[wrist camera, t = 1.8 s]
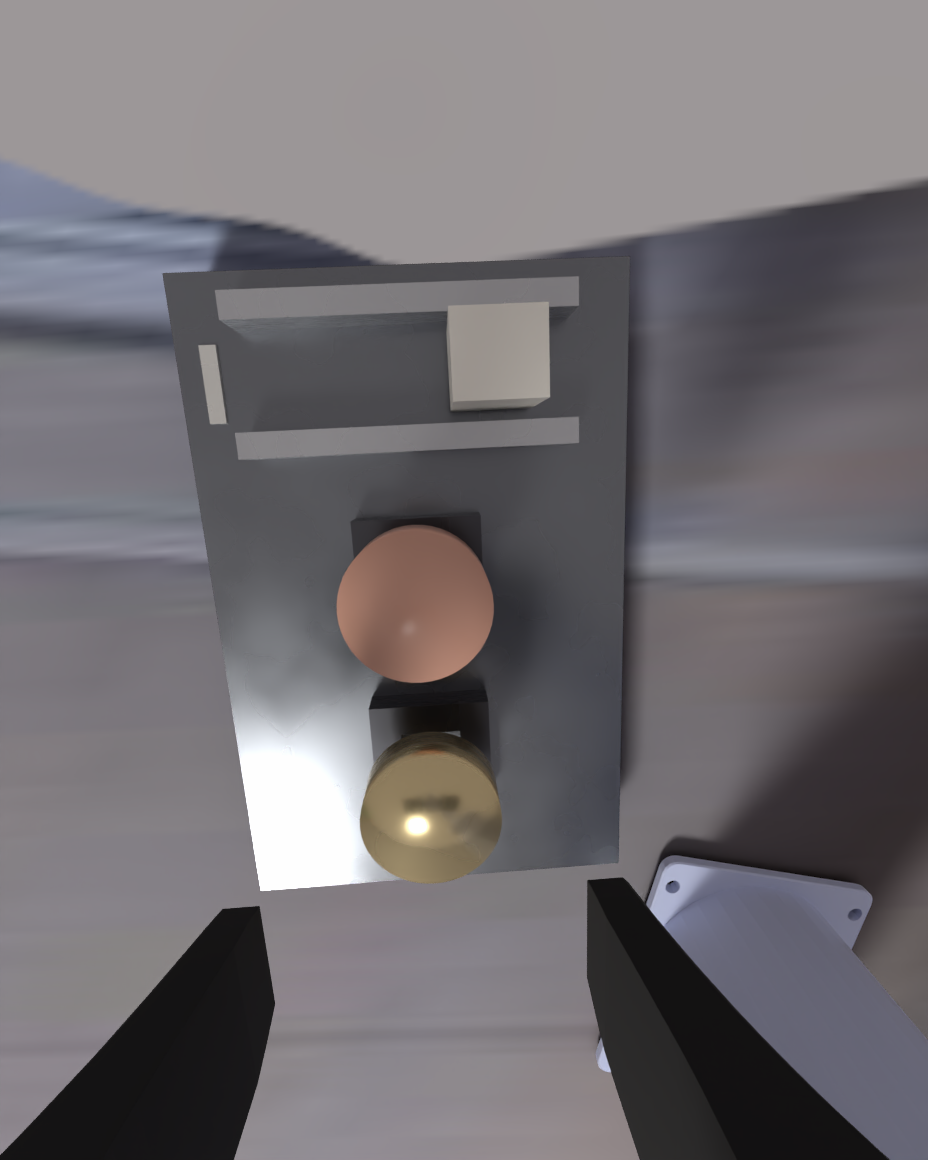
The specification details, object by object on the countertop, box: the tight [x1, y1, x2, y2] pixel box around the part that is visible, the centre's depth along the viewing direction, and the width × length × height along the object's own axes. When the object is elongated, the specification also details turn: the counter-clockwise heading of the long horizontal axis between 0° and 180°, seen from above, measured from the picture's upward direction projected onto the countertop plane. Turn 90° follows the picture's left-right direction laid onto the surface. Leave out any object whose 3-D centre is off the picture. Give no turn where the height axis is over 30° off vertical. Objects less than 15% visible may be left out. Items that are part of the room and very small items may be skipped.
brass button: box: [360, 732, 502, 883], centre depth 13 cm, size 3×3×2 cm
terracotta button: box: [337, 525, 494, 683], centre depth 12 cm, size 3×3×2 cm
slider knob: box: [446, 302, 550, 412], centre depth 12 cm, size 2×2×2 cm
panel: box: [163, 256, 630, 891], centre depth 15 cm, size 17×11×3 cm, turn 3°
